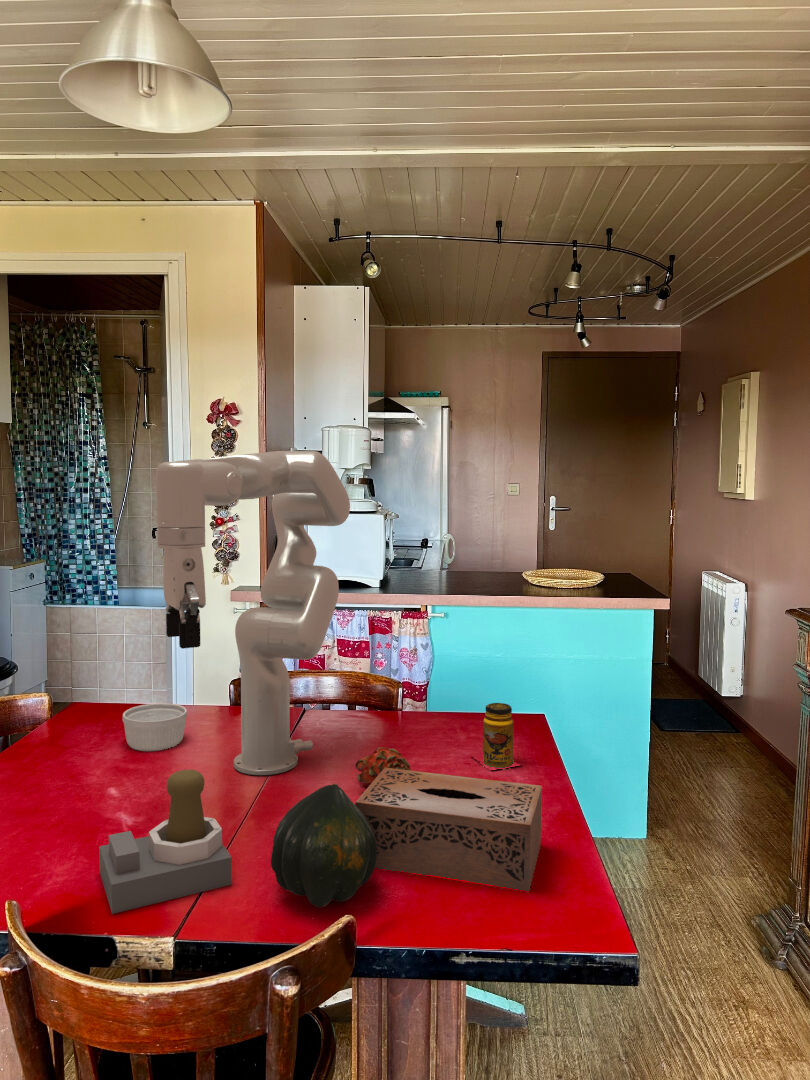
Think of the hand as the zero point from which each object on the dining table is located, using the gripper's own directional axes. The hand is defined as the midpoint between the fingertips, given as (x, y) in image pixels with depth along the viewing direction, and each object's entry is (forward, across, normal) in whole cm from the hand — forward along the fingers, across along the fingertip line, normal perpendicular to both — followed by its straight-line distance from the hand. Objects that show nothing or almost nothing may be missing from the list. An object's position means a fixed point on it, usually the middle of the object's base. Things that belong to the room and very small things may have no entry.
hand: (182, 641), depth 128 cm
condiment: (+31, -2, -62) cm, 69 cm away
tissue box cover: (+31, -31, -33) cm, 55 cm away
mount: (+30, -18, +7) cm, 36 cm away
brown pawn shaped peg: (+26, -18, +4) cm, 32 cm away
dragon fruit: (+31, -4, -35) cm, 47 cm away
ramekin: (+31, +41, -3) cm, 51 cm away
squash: (+31, -31, -12) cm, 45 cm away
